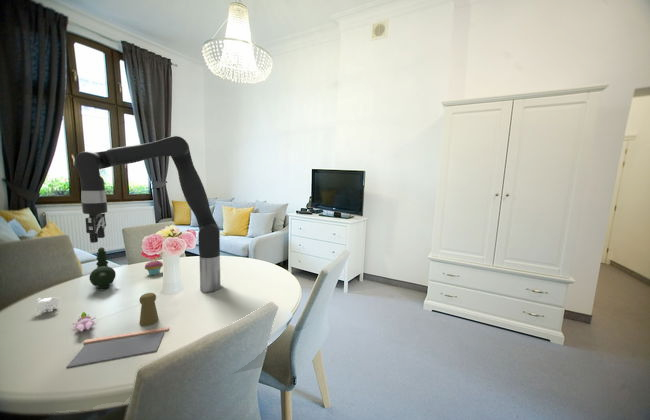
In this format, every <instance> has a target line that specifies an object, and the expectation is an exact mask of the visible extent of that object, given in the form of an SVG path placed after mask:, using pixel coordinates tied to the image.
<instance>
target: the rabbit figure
mask: <svg viewBox="0 0 650 420" xmlns="http://www.w3.org/2000/svg"><path fill="white" fill-rule="evenodd" d="M94 320H96V317H95V316H94V317H93V318H91V316H90V314H87V313H86V312H85V311H82V313H81V315H79V316H78V319H77V322H73V323H72V325H75V326H74V329H76V330H78V331H79V332H83V331H84V330H87V331H88V330H89V329H91V327H92V326H93V325H94V324H95V321H94Z"/></svg>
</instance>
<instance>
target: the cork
mask: <svg viewBox="0 0 650 420" xmlns="http://www.w3.org/2000/svg"><path fill="white" fill-rule="evenodd" d="M156 299H157V295H156V293H154V292H146V293H144V294H142V295H141V296H140V297H139V304H140V305H141V308H140V315H139V324H138V325H140V326H141V327H142V326H143V327H149V326H150V325H154V324H156V323H157V322H158V321H159V314H158V310H157V305H156V301H157V300H156Z"/></svg>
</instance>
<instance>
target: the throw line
mask: <svg viewBox="0 0 650 420" xmlns="http://www.w3.org/2000/svg"><path fill="white" fill-rule="evenodd" d="M169 330H170V326H167V327H165V326H163V327H159V328H153V329H146V330H140V331H133V332H128V333H120V334H115V335H114V334H113V335H107V336H106V335H105V336H100V337H94V338H88V339H85V340H84V341H83V343H82V344H83V345H87V344H93V343H100V342H106V341H112V340H118V339H124V338H131V337H137V336H143V335H149V334H155V333H162V332H168V331H169Z"/></svg>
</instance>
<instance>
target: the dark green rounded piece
mask: <svg viewBox="0 0 650 420" xmlns="http://www.w3.org/2000/svg"><path fill="white" fill-rule="evenodd" d="M96 255H97V257H95V259H96V260H97V261H96V263H95V265H96V268H94V269H93V270H92V271H91V273H90V274H89V278H88V279H89V282H90V284H91V285H93V286H94V287H97V288H96V289H97V290H98V291H106V290H108V289H109V288H110V284H113V282H114V281H115V279H116V271H115V270H114V268H113V267H110V266H109V261H108V260H107V259H108V256H107V251H106V249H105V248H104V247H99V248H98V249H97V252H96Z"/></svg>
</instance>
